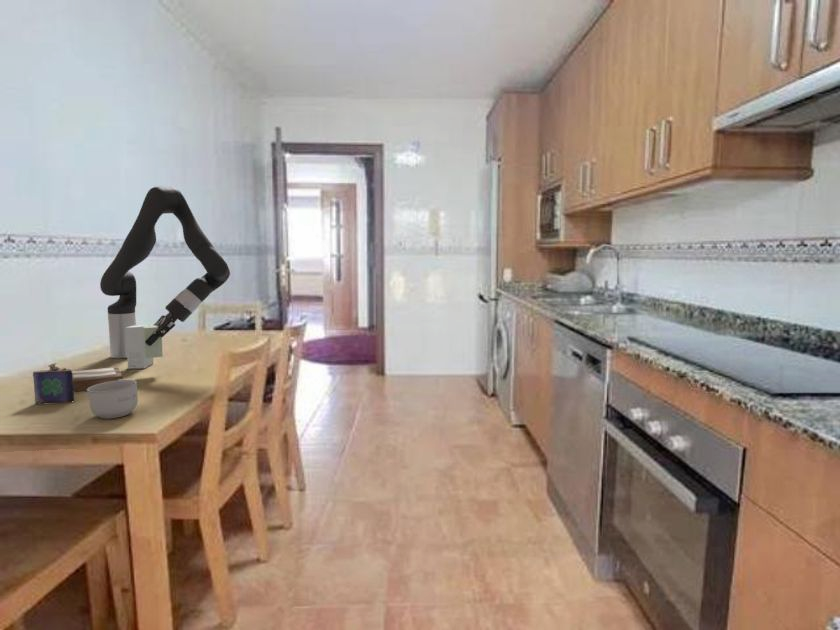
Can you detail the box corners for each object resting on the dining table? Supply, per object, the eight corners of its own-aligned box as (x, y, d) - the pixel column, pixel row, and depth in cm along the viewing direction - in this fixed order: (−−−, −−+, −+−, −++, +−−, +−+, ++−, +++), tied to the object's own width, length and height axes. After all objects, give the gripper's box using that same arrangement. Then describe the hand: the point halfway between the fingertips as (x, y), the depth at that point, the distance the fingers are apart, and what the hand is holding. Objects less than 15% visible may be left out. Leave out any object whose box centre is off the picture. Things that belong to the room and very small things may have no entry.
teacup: (126, 421, 125) (124, 389, 124) (79, 422, 124) (77, 390, 123) (151, 405, 139) (149, 376, 138) (109, 405, 138) (107, 376, 137)
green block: (143, 355, 172) (142, 326, 171) (160, 354, 175) (158, 325, 174) (145, 358, 168) (144, 328, 167) (162, 356, 171) (161, 327, 170)
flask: (33, 404, 138) (30, 365, 137) (39, 401, 141) (36, 363, 139) (71, 403, 140) (69, 364, 139) (76, 400, 143) (74, 362, 141)
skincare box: (144, 368, 181) (142, 327, 179) (126, 369, 180) (124, 327, 178) (153, 363, 189) (151, 323, 187) (136, 364, 188) (134, 324, 187)
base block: (67, 382, 161) (66, 371, 161) (118, 376, 169) (117, 365, 169) (68, 392, 150) (67, 380, 150) (123, 385, 158) (122, 374, 158)
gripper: (171, 295, 179) (133, 332, 174) (179, 299, 167) (139, 339, 162) (188, 310, 183) (151, 346, 177) (197, 314, 171) (158, 353, 166)
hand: (146, 342), depth 170 cm, fingers closed on green block, 5 cm apart
